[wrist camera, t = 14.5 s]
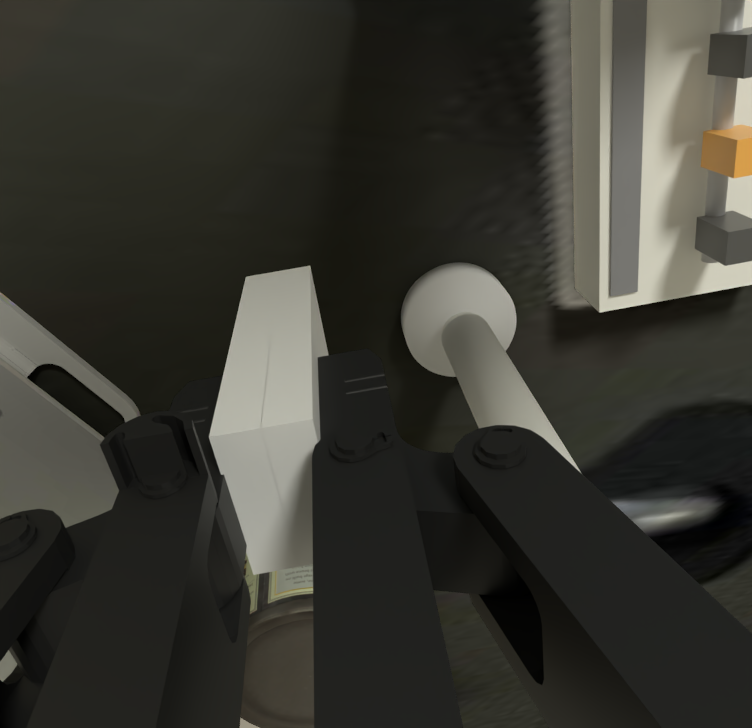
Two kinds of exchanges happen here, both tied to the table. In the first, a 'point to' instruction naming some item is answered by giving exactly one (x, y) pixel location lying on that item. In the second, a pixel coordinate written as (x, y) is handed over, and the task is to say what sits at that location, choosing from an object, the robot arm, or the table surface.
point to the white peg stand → (473, 345)
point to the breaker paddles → (726, 143)
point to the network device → (49, 432)
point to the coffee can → (279, 649)
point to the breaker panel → (646, 150)
